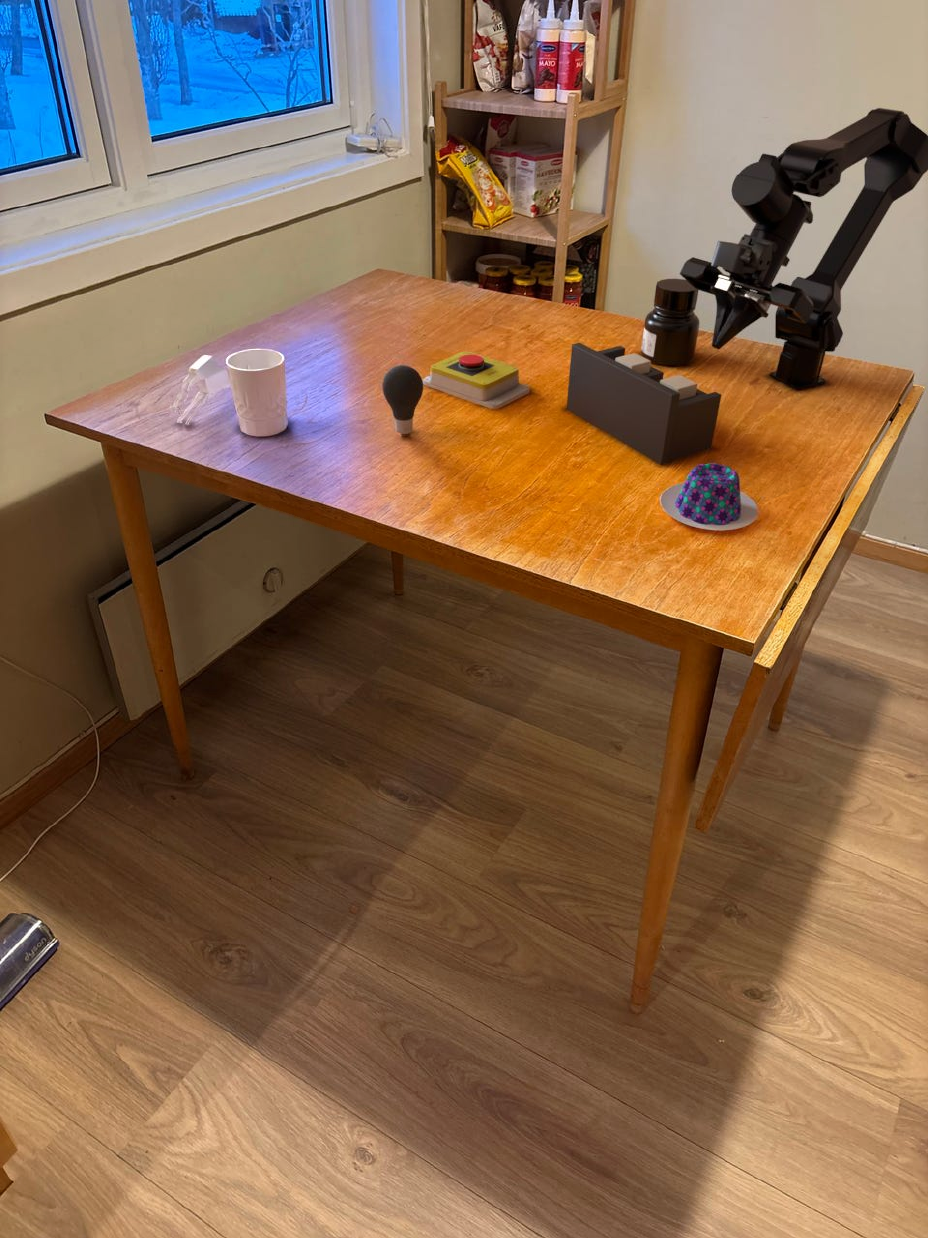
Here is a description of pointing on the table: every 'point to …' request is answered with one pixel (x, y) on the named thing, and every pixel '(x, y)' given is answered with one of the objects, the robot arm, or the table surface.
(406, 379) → the light bulb
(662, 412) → the black hollow block
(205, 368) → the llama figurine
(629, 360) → the key
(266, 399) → the white cup
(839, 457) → the table surface
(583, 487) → the table surface
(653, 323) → the ink bottle
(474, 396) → the emergency button
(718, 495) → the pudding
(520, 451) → the table surface
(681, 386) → the key
